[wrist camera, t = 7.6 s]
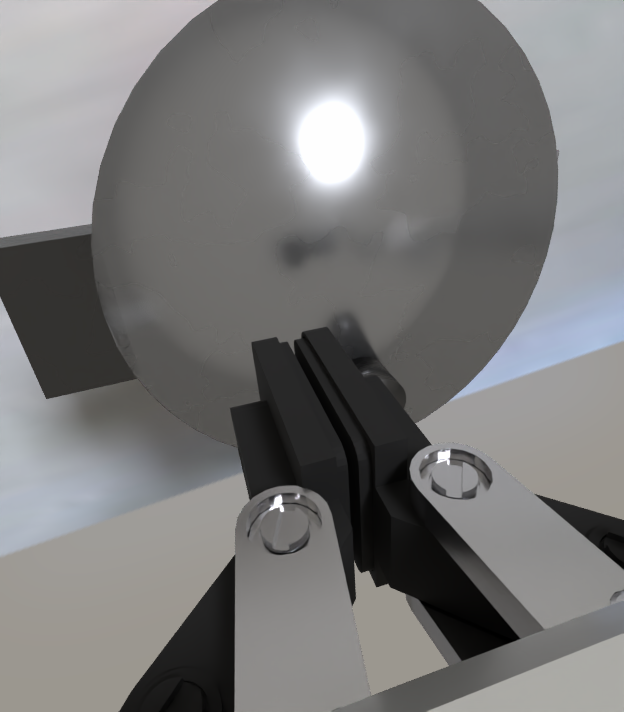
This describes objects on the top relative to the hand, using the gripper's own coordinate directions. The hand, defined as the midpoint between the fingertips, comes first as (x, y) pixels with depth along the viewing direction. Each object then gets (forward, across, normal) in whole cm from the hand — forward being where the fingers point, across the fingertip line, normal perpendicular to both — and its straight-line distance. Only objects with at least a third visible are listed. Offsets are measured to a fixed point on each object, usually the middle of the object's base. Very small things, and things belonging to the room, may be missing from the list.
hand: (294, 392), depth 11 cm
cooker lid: (+8, -3, 0) cm, 8 cm away
